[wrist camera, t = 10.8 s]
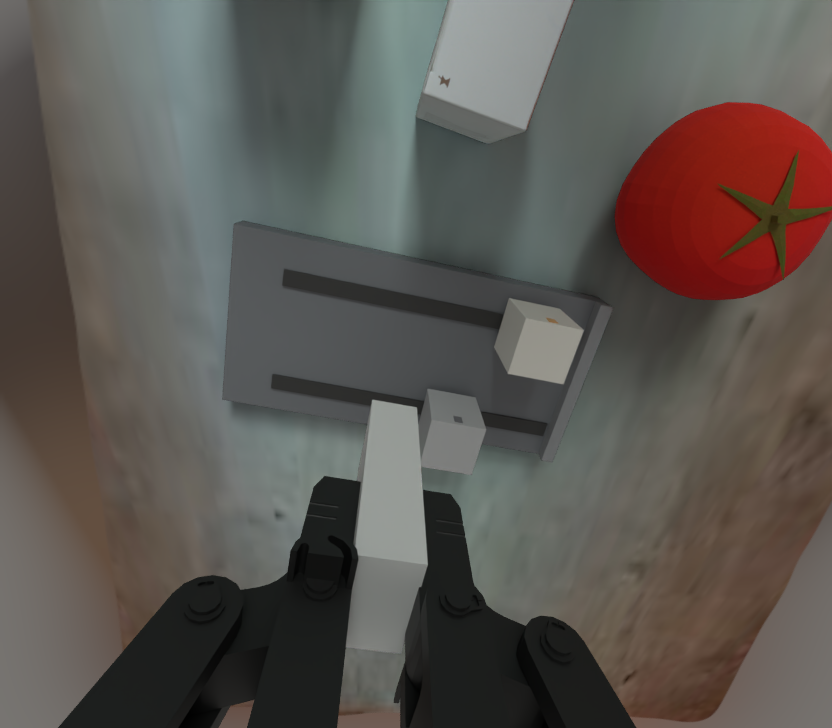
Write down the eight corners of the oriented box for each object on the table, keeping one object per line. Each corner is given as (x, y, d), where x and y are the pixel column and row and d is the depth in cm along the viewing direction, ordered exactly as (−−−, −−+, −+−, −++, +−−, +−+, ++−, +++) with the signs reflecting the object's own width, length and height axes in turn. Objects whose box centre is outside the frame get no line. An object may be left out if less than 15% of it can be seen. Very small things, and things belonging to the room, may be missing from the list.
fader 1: (427, 388, 37) (431, 419, 33) (475, 396, 38) (486, 428, 33) (416, 431, 39) (419, 467, 34) (463, 439, 39) (471, 475, 35)
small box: (488, 145, 33) (526, 137, 23) (413, 117, 32) (419, 96, 22) (534, 14, 30) (599, -58, 20) (452, -20, 29) (480, -113, 19)
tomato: (687, 303, 38) (786, 351, 28) (563, 234, 35) (626, 260, 26) (787, 170, 34) (941, 171, 24) (656, 81, 32) (770, 44, 22)
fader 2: (509, 297, 34) (526, 317, 30) (559, 308, 35) (584, 329, 30) (493, 347, 36) (507, 374, 31) (542, 357, 36) (563, 384, 32)
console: (242, 220, 34) (229, 225, 31) (597, 297, 37) (613, 307, 35) (230, 388, 39) (217, 405, 37) (542, 443, 43) (552, 462, 40)
